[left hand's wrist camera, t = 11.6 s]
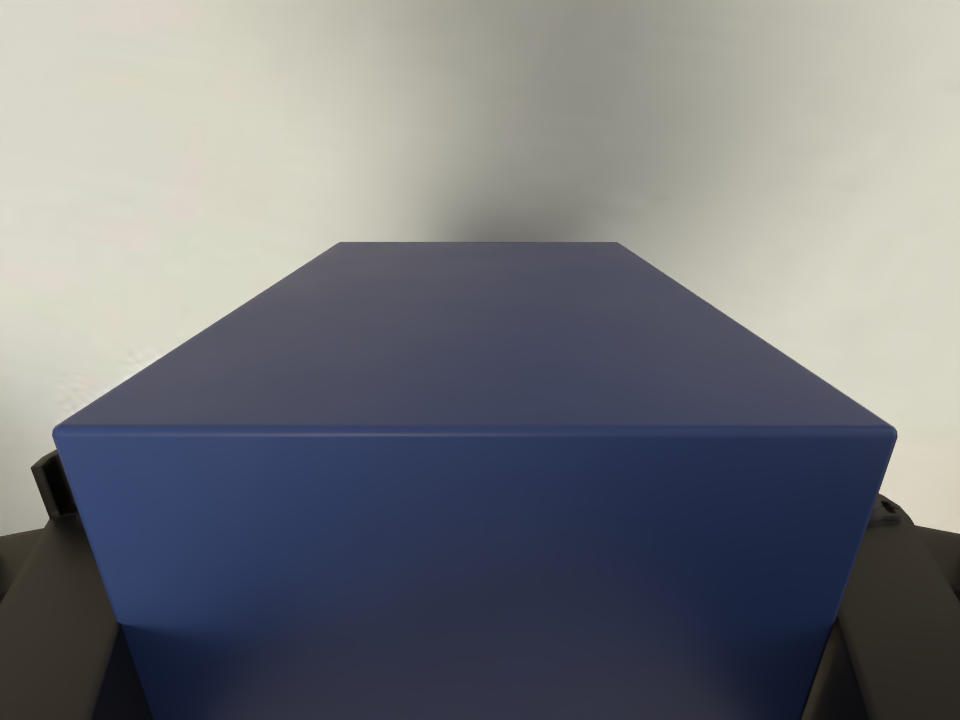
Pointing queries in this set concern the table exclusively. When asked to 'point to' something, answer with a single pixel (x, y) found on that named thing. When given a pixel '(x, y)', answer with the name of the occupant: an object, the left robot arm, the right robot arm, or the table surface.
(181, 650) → the box
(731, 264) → the table surface
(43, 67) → the table surface
